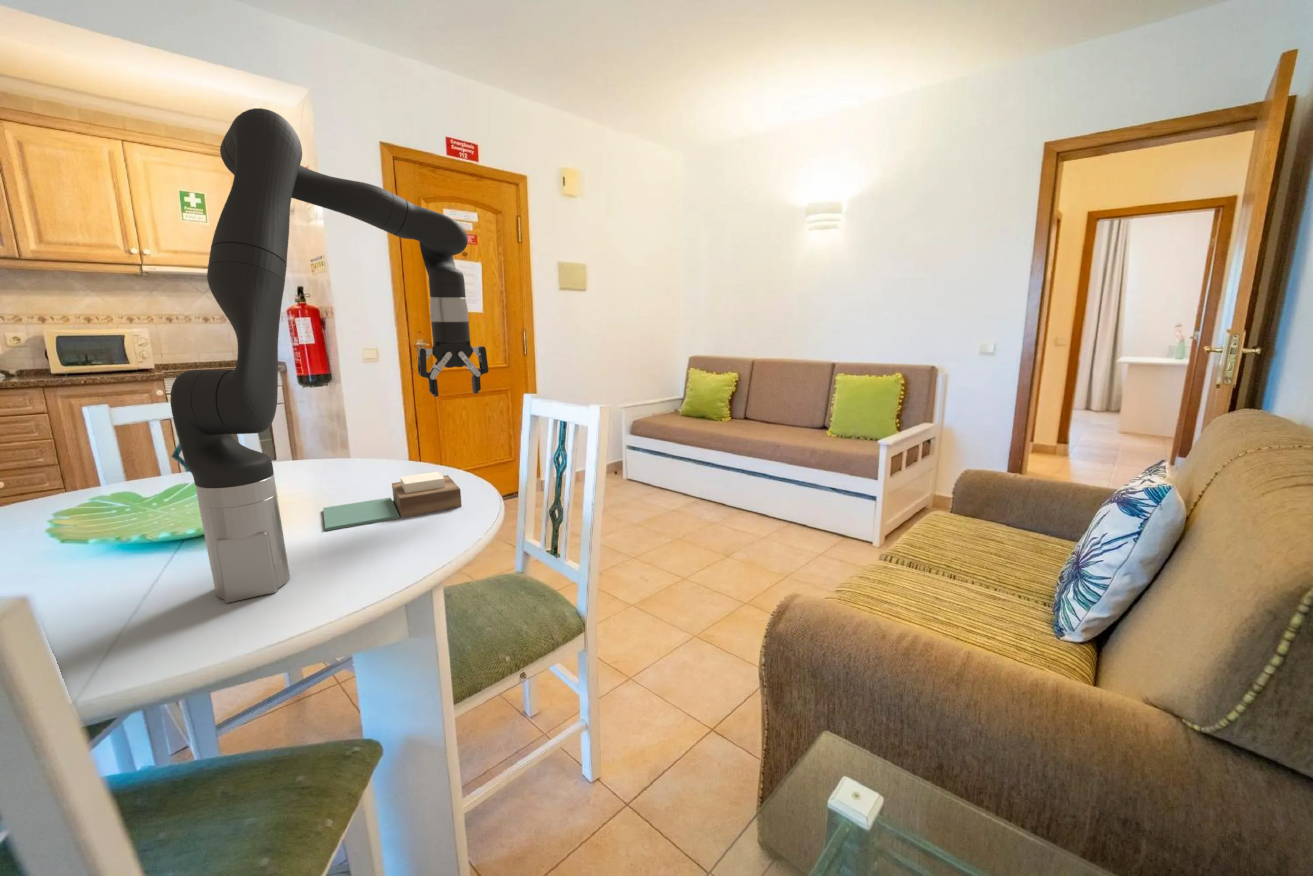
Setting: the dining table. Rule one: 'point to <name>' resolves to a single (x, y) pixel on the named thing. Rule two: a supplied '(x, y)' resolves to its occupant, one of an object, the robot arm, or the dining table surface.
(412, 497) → the block
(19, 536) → the dining table surface
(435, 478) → the cream flat block
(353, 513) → the mat
